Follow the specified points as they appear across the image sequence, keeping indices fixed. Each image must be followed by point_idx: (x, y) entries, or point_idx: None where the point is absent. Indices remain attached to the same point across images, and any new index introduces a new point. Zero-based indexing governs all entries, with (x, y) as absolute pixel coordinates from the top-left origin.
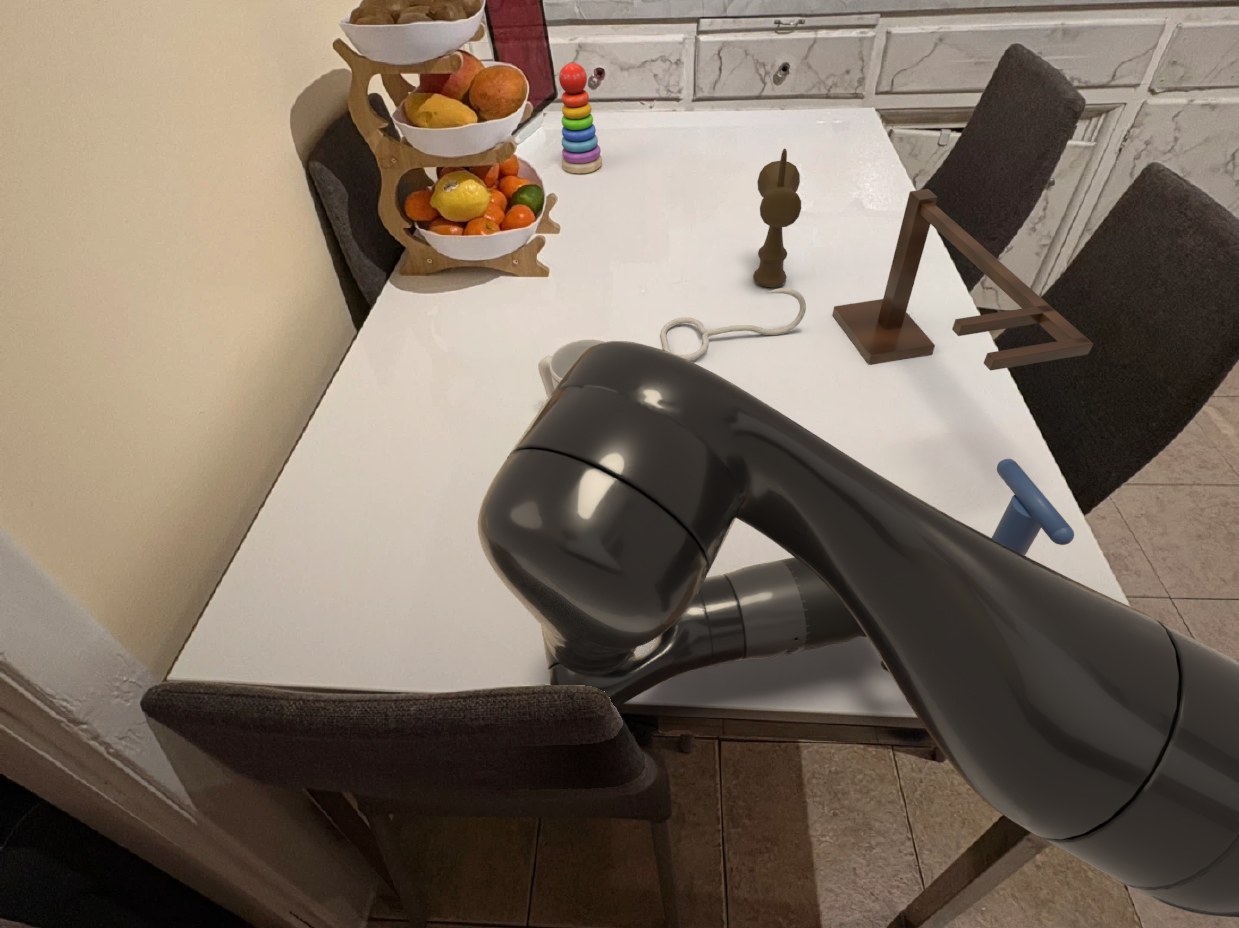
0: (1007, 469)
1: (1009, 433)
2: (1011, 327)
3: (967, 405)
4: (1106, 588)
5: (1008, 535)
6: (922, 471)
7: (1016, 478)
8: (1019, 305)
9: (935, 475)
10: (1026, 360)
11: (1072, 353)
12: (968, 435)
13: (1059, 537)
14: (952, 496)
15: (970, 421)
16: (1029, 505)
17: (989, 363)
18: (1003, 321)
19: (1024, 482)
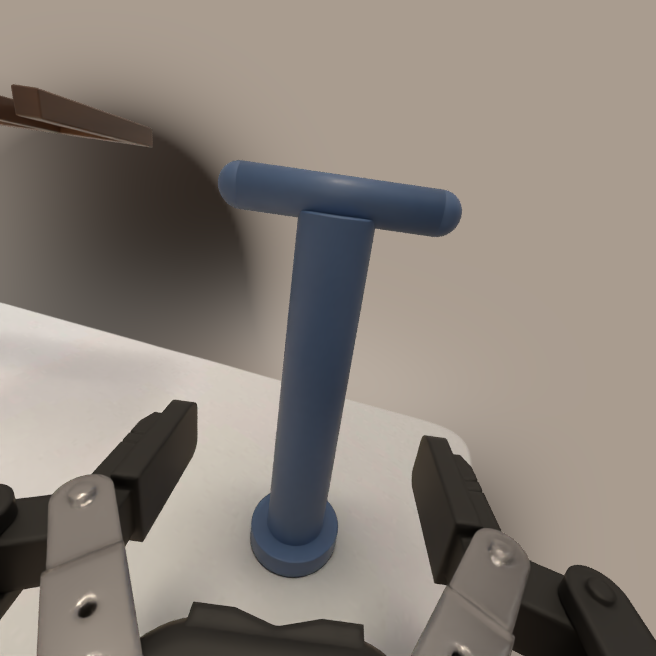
0: (253, 168)
1: (98, 343)
2: (24, 124)
3: (23, 343)
4: None
5: (341, 300)
6: (21, 426)
7: (286, 171)
8: (13, 124)
9: (48, 418)
10: (91, 119)
11: (138, 136)
12: (53, 363)
13: (456, 207)
14: (98, 423)
15: (42, 352)
16: (356, 196)
17: (30, 103)
18: (3, 101)
19: (306, 170)
